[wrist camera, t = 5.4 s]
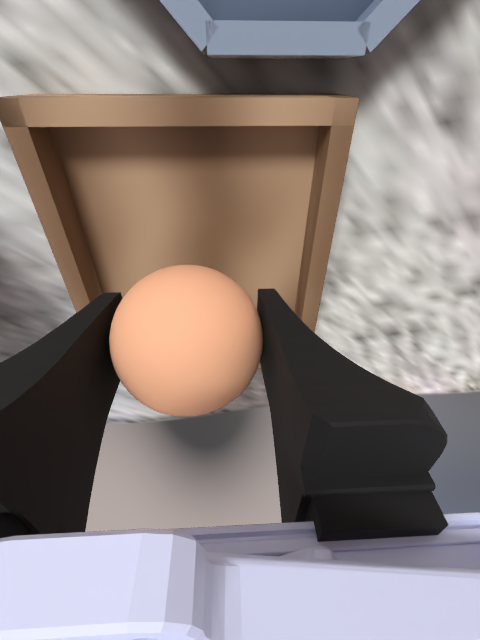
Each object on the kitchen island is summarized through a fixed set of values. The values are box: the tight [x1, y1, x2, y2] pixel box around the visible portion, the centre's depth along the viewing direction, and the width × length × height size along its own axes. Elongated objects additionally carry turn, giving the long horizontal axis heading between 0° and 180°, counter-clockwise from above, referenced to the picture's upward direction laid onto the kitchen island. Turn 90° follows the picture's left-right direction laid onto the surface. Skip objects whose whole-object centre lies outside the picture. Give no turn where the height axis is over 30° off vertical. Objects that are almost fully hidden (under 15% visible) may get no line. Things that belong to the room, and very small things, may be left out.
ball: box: [109, 265, 263, 417], centre depth 11 cm, size 5×5×5 cm
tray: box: [0, 94, 359, 369], centre depth 15 cm, size 12×13×3 cm
